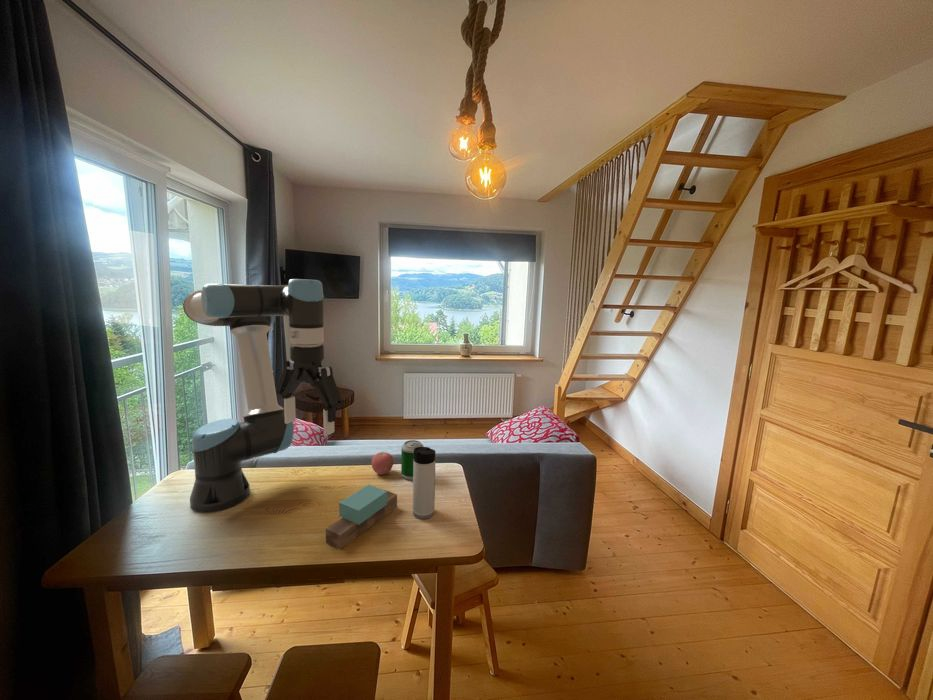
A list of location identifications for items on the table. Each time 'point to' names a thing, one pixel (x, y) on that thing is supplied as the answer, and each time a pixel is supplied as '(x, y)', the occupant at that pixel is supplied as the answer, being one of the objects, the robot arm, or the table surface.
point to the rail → (356, 525)
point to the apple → (382, 463)
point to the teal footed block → (362, 504)
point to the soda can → (408, 458)
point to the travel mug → (423, 482)
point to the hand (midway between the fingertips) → (309, 427)
